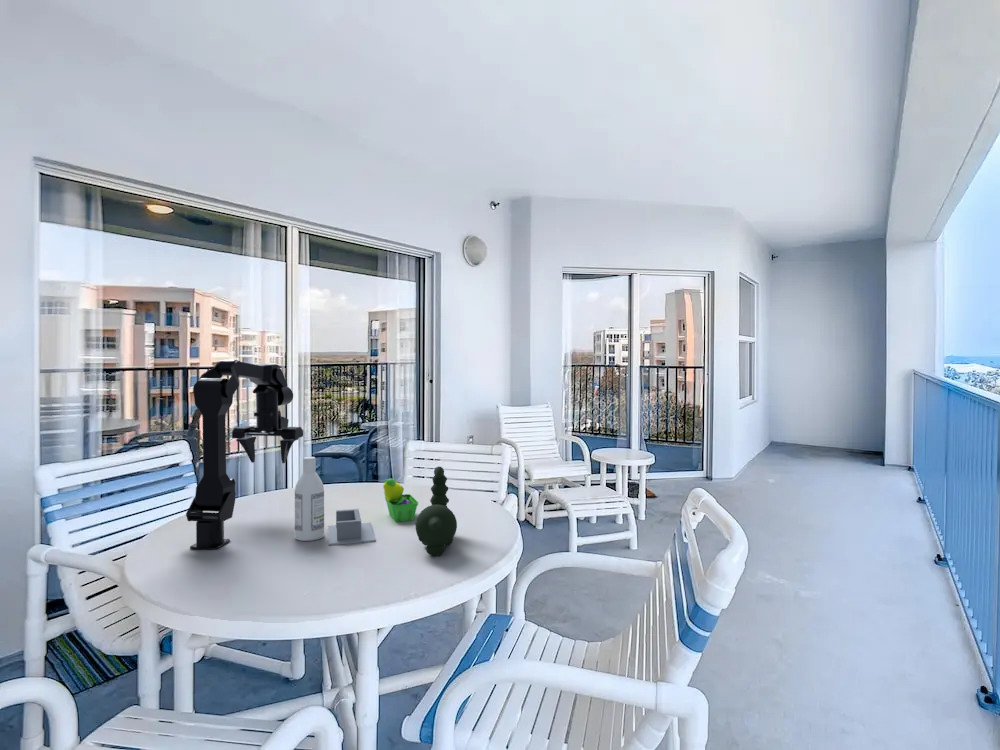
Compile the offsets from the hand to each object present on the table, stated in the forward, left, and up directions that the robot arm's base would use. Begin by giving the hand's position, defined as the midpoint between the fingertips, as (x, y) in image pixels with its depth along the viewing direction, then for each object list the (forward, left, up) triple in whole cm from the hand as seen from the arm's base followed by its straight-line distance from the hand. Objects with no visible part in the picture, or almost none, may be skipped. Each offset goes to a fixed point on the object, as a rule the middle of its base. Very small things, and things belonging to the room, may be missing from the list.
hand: (268, 462), depth 164 cm
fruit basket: (+1, -37, -15) cm, 41 cm away
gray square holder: (-16, -29, -15) cm, 37 cm away
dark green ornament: (-24, -53, -15) cm, 60 cm away
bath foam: (-20, -20, -15) cm, 32 cm away
